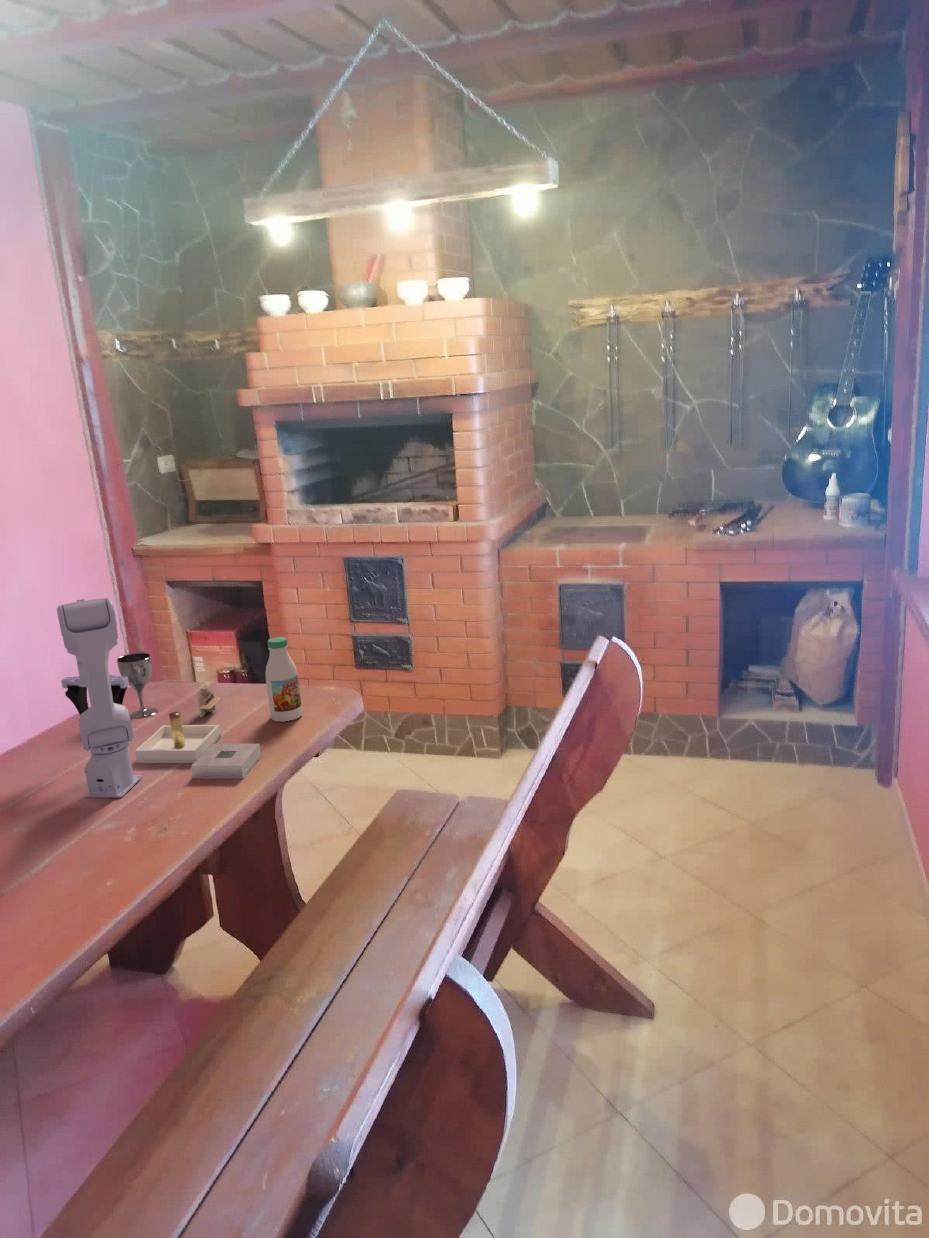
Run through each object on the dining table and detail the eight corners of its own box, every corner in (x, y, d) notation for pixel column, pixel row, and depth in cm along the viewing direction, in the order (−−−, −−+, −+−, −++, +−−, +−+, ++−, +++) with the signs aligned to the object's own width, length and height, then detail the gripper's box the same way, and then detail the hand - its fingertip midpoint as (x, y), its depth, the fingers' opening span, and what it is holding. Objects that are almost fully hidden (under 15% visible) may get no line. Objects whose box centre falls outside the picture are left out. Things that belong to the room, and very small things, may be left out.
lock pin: (183, 748, 204) (177, 715, 202) (172, 748, 204) (167, 715, 202) (186, 743, 206) (181, 711, 204) (176, 744, 206) (171, 711, 204)
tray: (196, 762, 198) (194, 750, 197) (137, 762, 200) (134, 750, 199) (221, 736, 211) (219, 724, 210) (165, 737, 213) (163, 725, 212)
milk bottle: (265, 721, 218) (254, 643, 213) (280, 709, 225) (270, 633, 220) (293, 723, 216) (283, 644, 210) (308, 711, 223) (298, 634, 217)
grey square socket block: (243, 778, 189) (241, 765, 188) (193, 778, 190) (191, 765, 189) (261, 756, 199) (259, 743, 198) (213, 756, 201) (212, 743, 200)
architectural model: (222, 710, 229) (217, 683, 227) (212, 721, 222) (208, 692, 220) (208, 710, 229) (204, 683, 227) (199, 721, 222) (194, 693, 220)
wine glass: (164, 706, 232) (155, 651, 228) (151, 718, 225) (141, 662, 221) (135, 707, 233) (125, 652, 229) (121, 719, 226) (110, 663, 221)
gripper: (131, 653, 198) (140, 710, 202) (69, 653, 200) (80, 710, 204) (115, 664, 191) (125, 723, 195) (51, 664, 193) (63, 722, 197)
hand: (101, 717), depth 199 cm, fingers open, 7 cm apart
